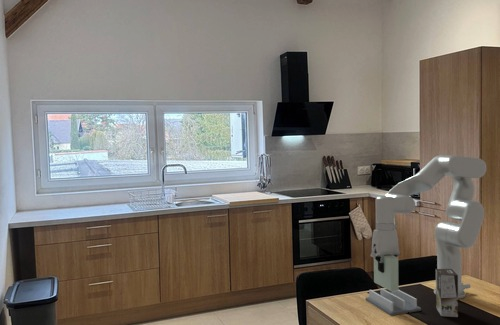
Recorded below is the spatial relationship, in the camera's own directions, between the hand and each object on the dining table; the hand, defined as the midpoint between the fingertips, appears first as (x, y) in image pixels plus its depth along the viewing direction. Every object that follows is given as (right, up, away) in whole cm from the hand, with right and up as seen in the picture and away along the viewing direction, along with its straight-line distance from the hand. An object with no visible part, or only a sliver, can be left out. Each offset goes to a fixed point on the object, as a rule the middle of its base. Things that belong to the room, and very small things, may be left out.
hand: (385, 270), depth 181 cm
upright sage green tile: (0, -6, 0) cm, 6 cm away
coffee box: (+22, -15, -8) cm, 27 cm away
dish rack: (+3, -14, +1) cm, 15 cm away
